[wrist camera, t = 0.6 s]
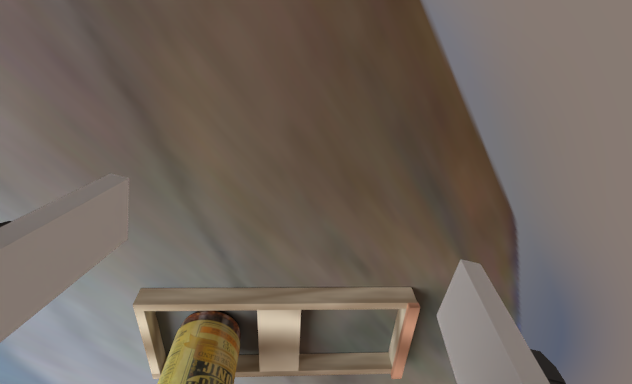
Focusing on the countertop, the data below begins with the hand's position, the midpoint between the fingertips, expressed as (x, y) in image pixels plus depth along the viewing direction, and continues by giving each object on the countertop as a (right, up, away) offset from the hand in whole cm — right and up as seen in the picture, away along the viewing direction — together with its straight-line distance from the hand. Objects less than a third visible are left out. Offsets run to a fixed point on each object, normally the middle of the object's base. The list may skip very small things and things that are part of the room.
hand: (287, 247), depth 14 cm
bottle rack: (-3, -11, +23) cm, 26 cm away
